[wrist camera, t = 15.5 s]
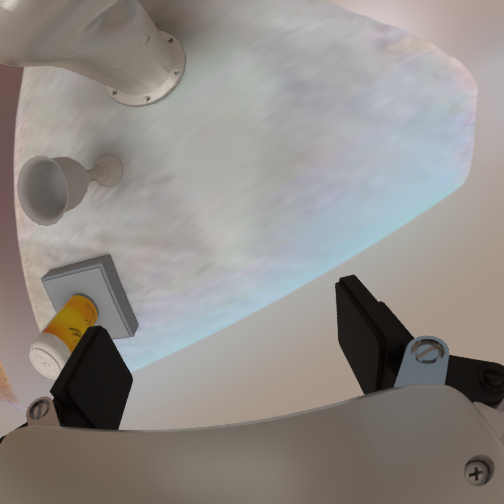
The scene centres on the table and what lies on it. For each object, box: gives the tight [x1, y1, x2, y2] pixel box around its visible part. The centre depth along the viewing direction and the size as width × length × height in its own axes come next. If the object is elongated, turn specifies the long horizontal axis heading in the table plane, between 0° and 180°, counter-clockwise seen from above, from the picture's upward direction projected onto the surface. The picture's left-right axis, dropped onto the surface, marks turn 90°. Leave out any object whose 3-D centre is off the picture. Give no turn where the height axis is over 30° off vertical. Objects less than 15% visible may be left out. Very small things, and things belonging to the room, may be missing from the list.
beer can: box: [29, 295, 98, 379], centre depth 35 cm, size 6×6×15 cm
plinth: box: [41, 255, 138, 339], centre depth 44 cm, size 14×14×4 cm
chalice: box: [17, 155, 122, 226], centre depth 30 cm, size 7×7×18 cm
